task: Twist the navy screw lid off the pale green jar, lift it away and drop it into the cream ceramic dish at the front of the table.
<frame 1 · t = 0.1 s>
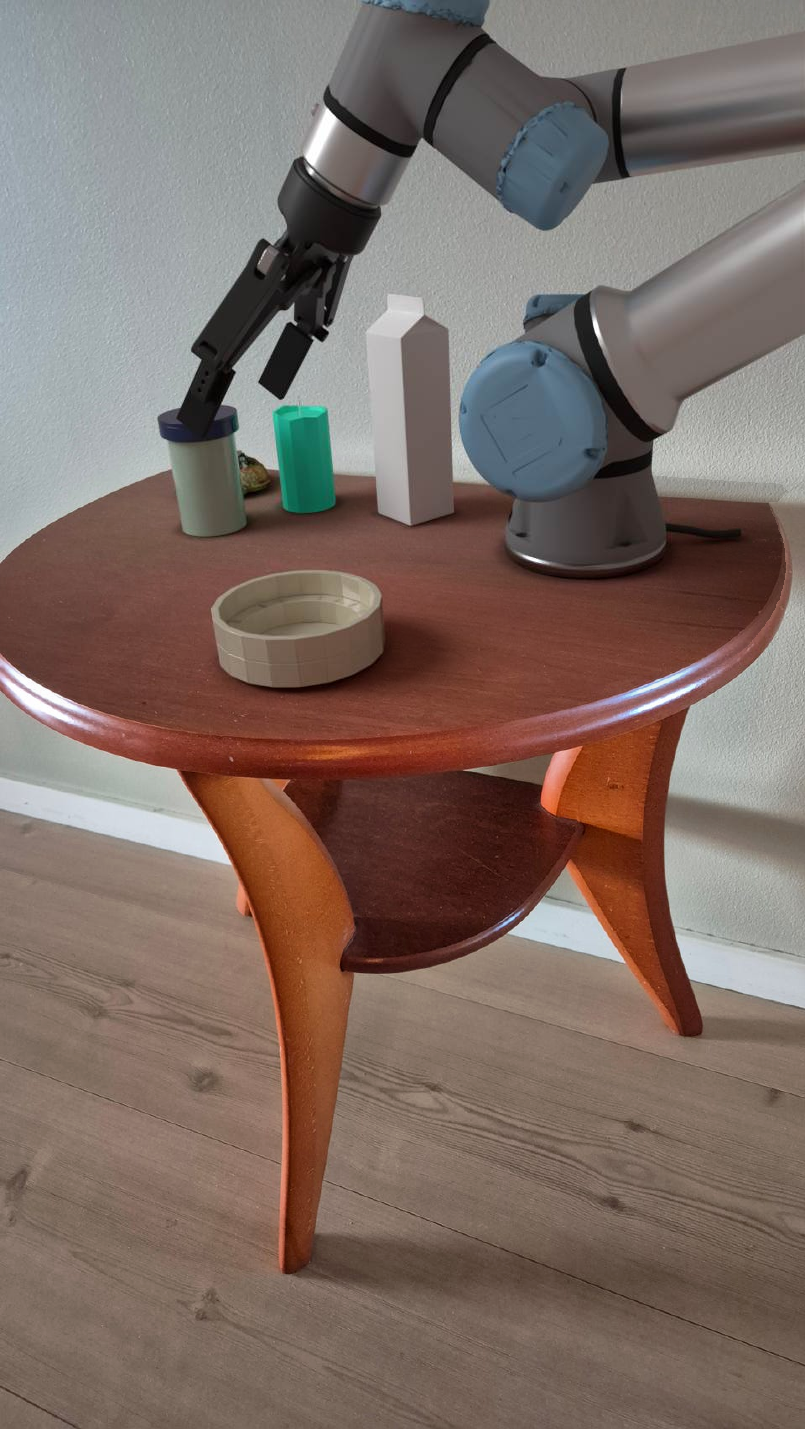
hand: (233, 408, 88), 15 cm above the table, tool tilted 35°, fingers open, 13 cm apart
lid: (197, 417, 102), point 12 cm above the table, screwed on, not yet turned
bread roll: (225, 490, 119), on the table
milk: (415, 515, 108), on the table
candle: (309, 506, 112), on the table
dish: (302, 653, 79), on the table
jar: (214, 525, 108), on the table
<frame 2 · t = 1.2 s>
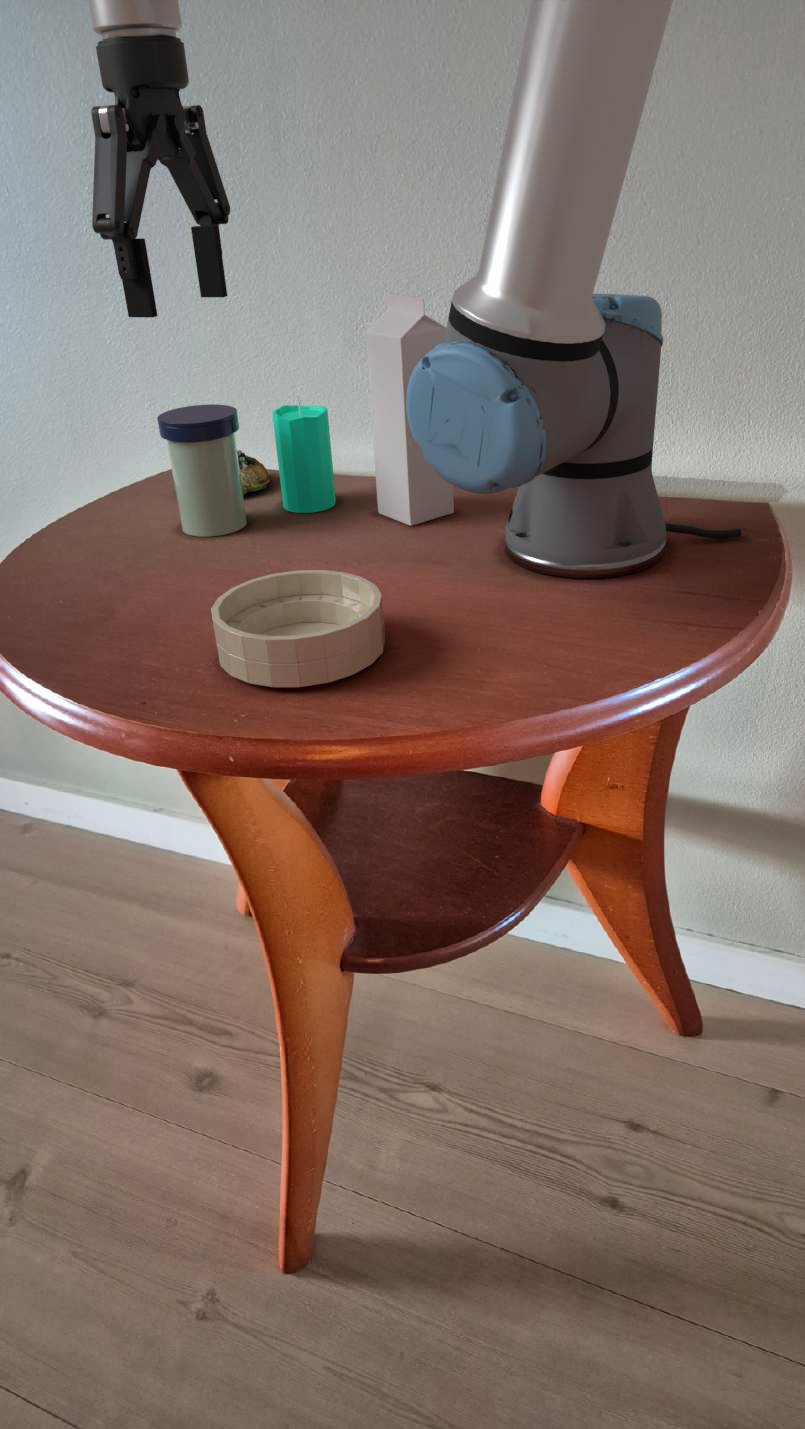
hand: (180, 306, 96), 22 cm above the table, tool pointing down, fingers open, 12 cm apart
nothing on the table moved.
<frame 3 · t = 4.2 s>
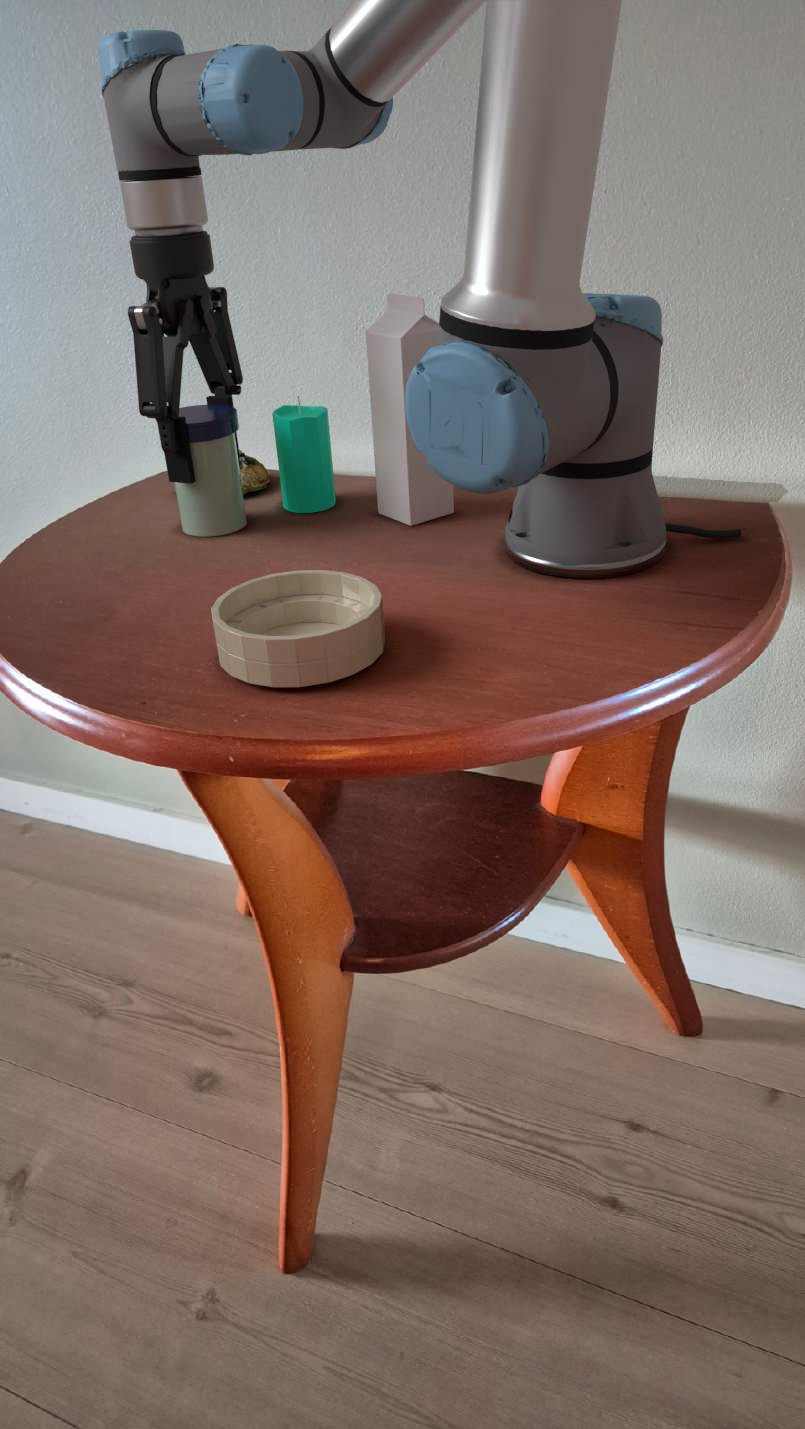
hand: (205, 469, 104), 6 cm above the table, tool pointing down, fingers closed on lid, 8 cm apart
lid: (197, 417, 102), point 12 cm above the table, screwed on, not yet turned, touching gripper
everything else where it was.
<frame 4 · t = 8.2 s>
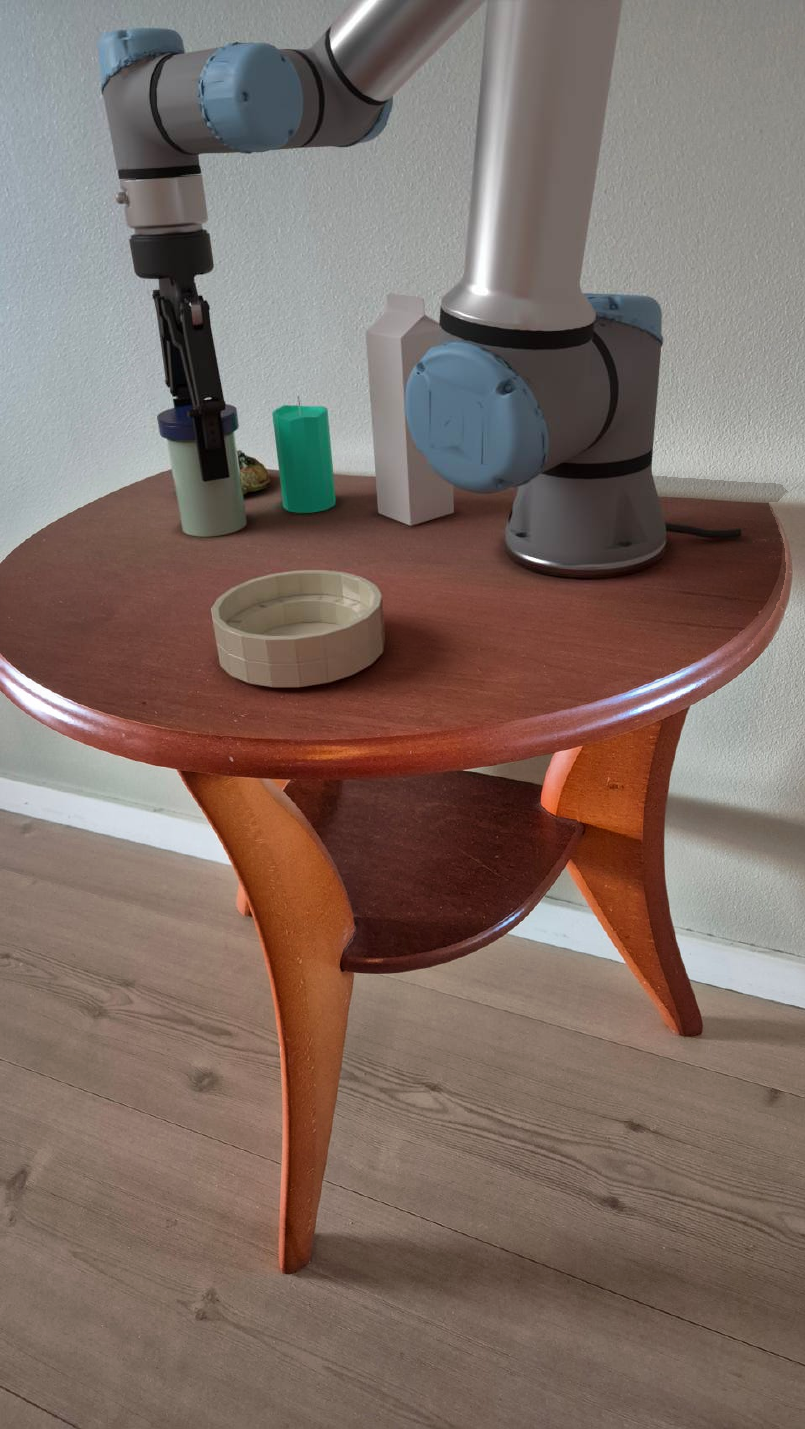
hand: (205, 468, 104), 6 cm above the table, tool pointing down, fingers closed on lid, 8 cm apart
lid: (197, 416, 102), point 12 cm above the table, turned 47° so far, risen 0.1 cm, still on its thread, touching gripper
everything else where it was.
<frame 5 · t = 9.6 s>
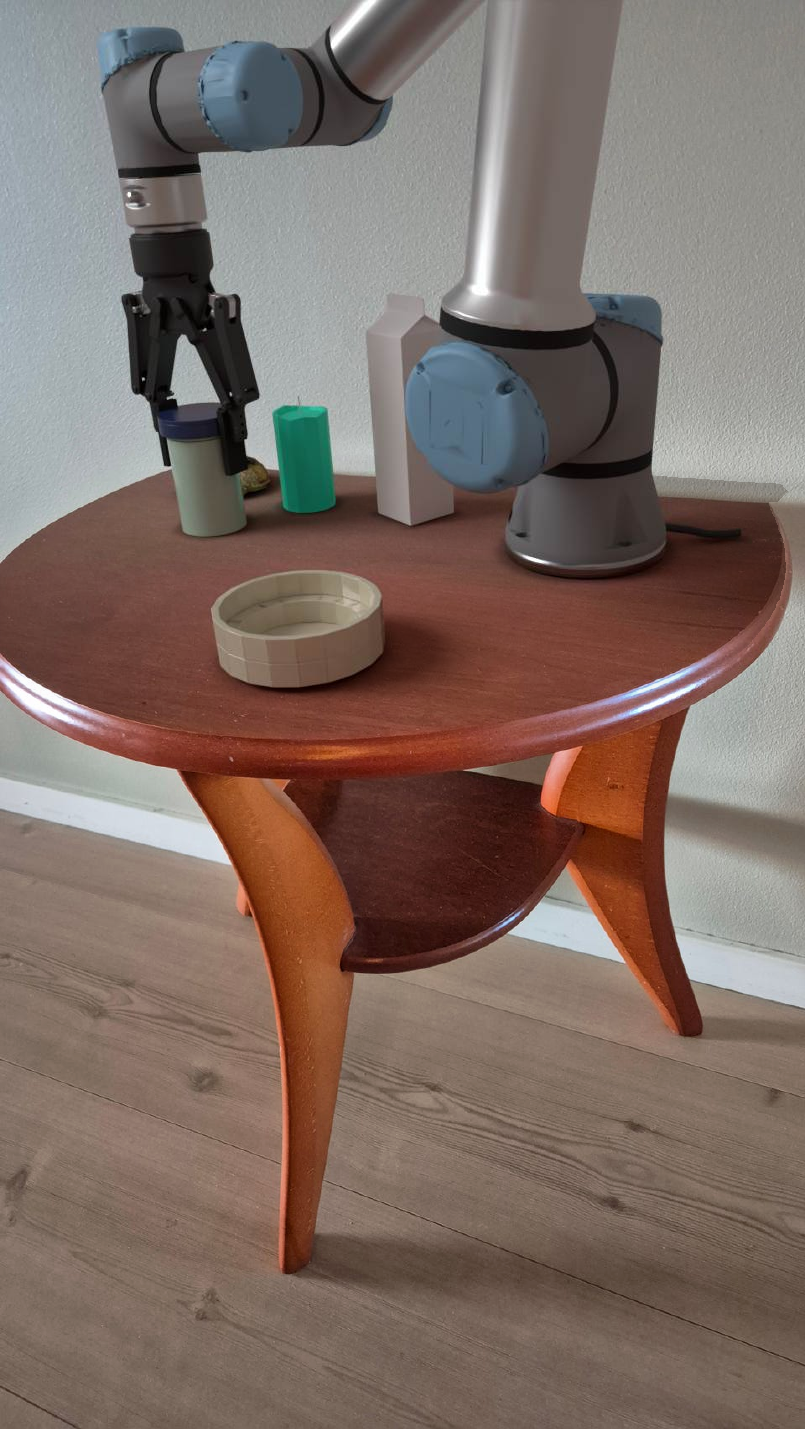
hand: (205, 467, 104), 6 cm above the table, tool pointing down, fingers closed on lid, 8 cm apart
lid: (197, 415, 102), point 12 cm above the table, turned 80° so far, risen 0.2 cm, still on its thread, touching gripper
everything else where it was.
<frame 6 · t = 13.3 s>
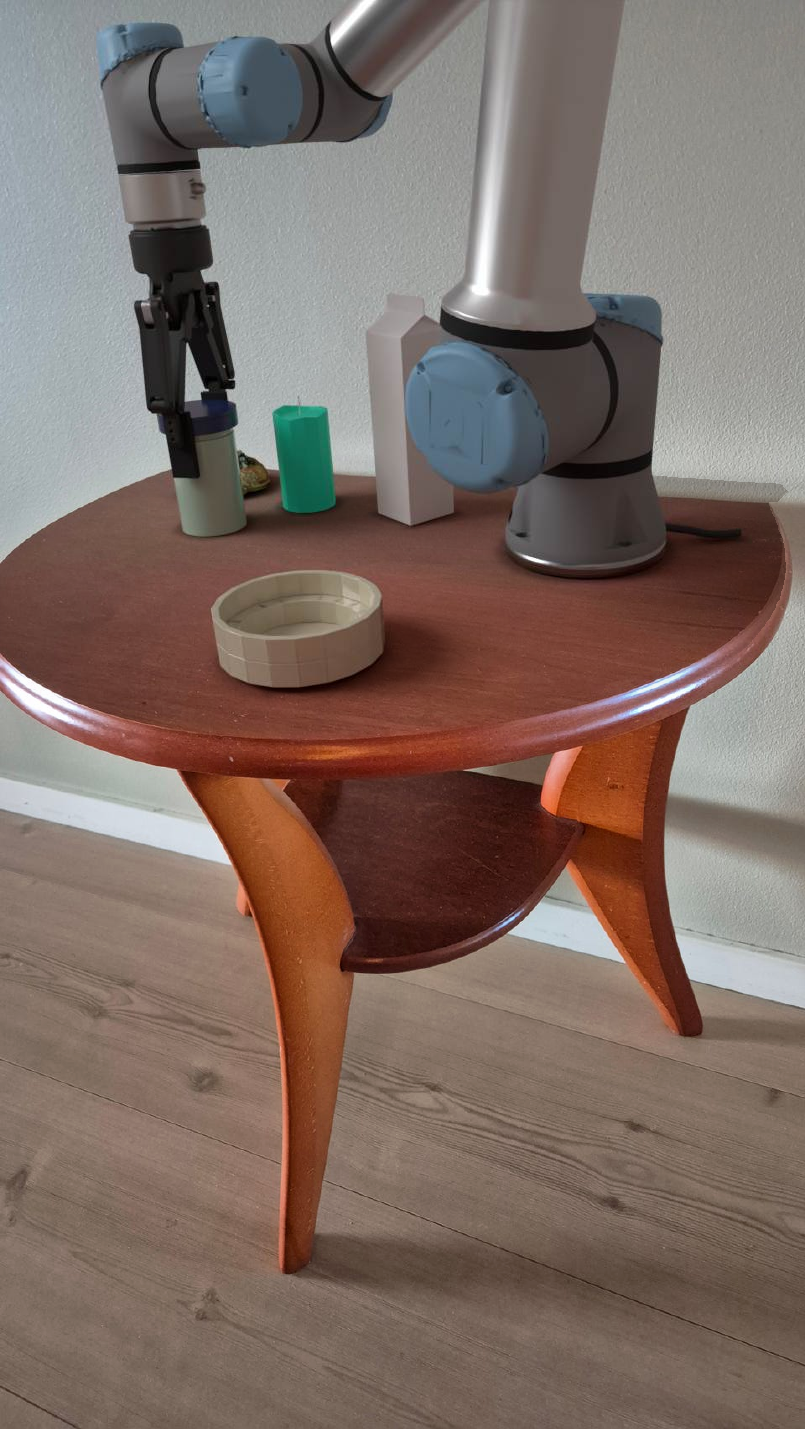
hand: (205, 464, 104), 7 cm above the table, tool pointing down, fingers closed on lid, 8 cm apart
lid: (197, 412, 101), point 12 cm above the table, off its thread, touching gripper
everything else where it was.
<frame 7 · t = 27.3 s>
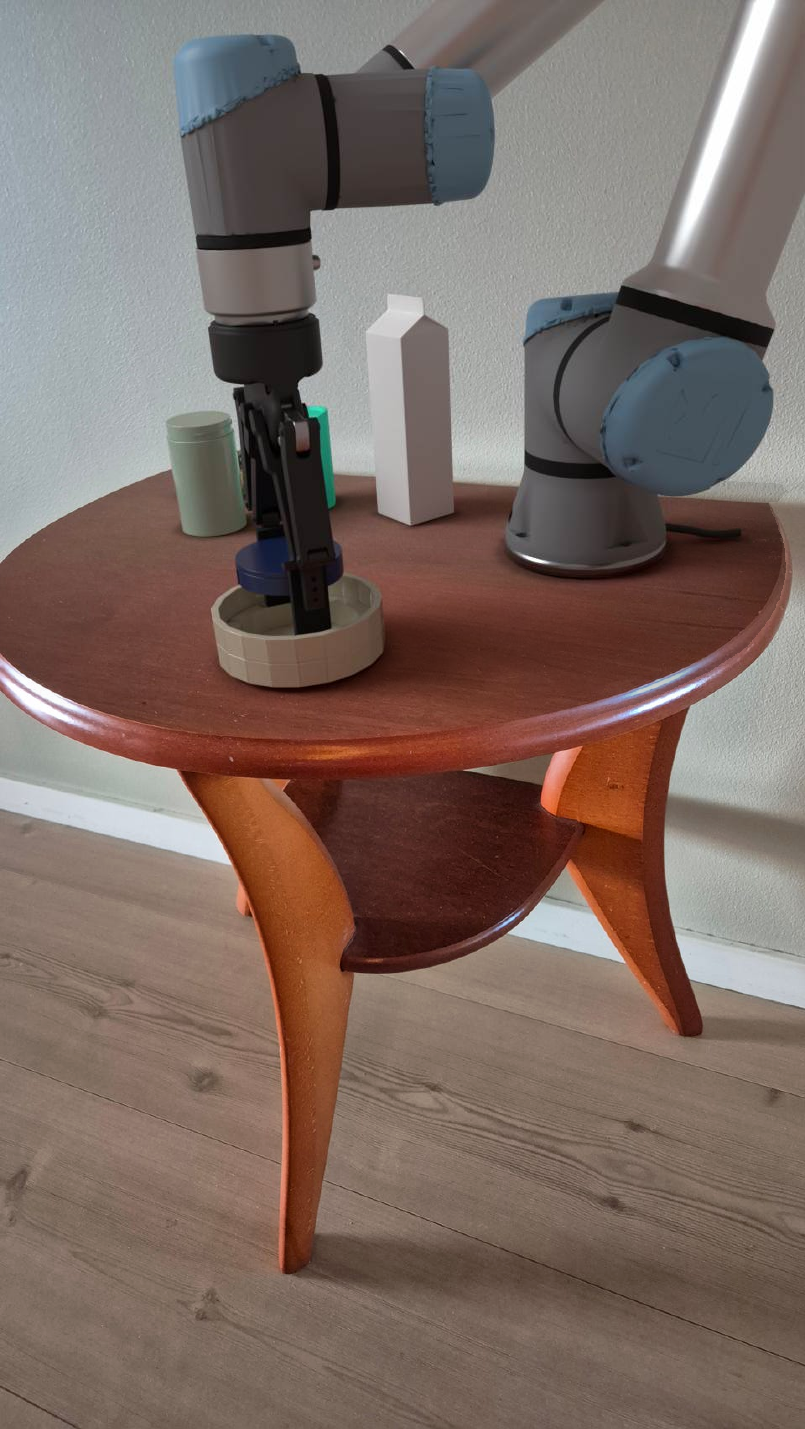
hand: (297, 622, 78), 3 cm above the table, tool pointing down, fingers closed on lid, 8 cm apart
lid: (289, 558, 75), point 8 cm above the table, off its thread, touching gripper
everything else where it was.
when the fingers open (5 cm above the table, at t = 34.5 s): lid drops 8 cm, resting on dish.
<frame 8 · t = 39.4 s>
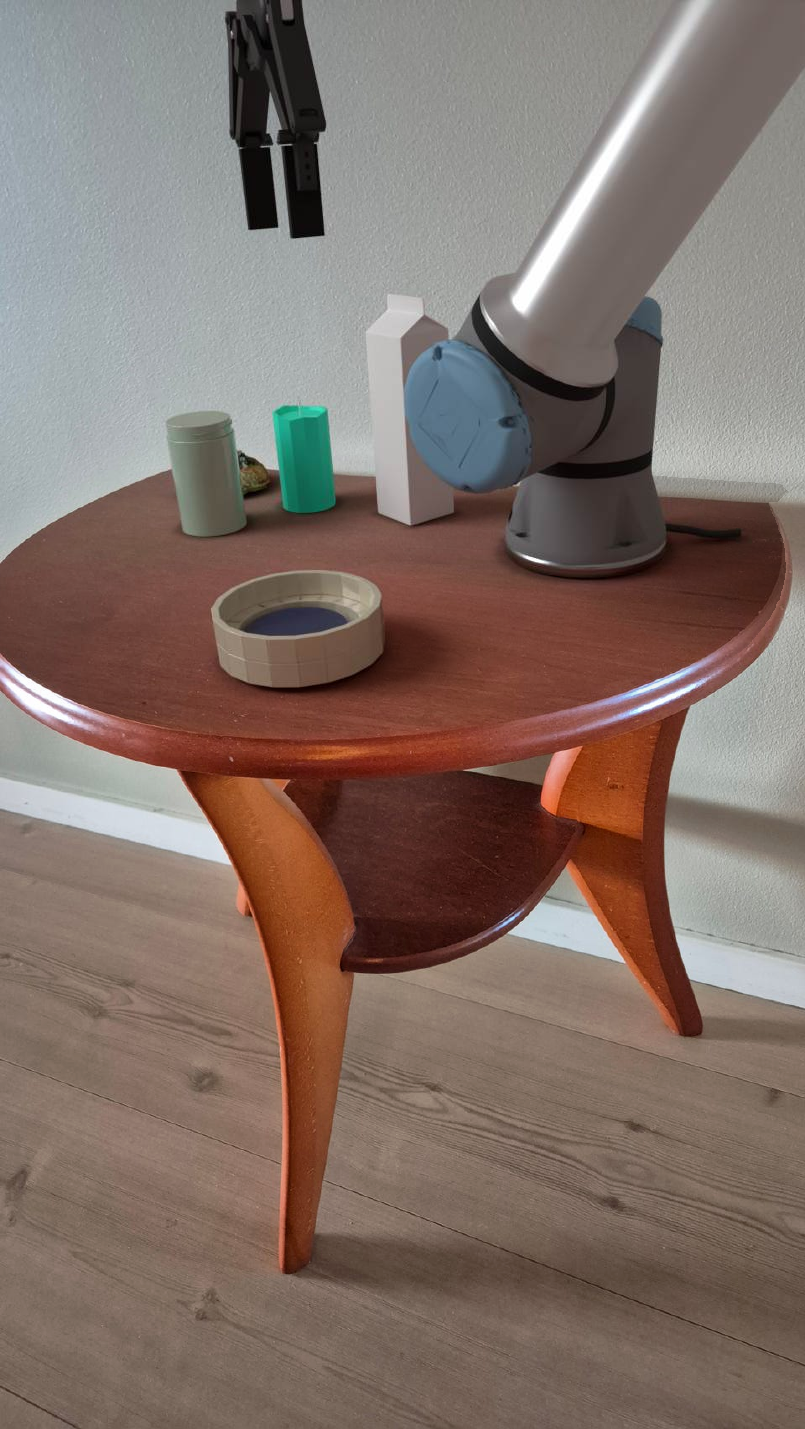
hand: (284, 233, 86), 29 cm above the table, tool pointing down, fingers open, 13 cm apart
lid: (297, 632, 78), point 2 cm above the table, off its thread, touching dish
everything else where it was.
at the end: lid inside the target area in the dish (0.2 cm from its centre), point 1.9 cm above the dish's base; lid came off its thread; the gripper is holding nothing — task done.
